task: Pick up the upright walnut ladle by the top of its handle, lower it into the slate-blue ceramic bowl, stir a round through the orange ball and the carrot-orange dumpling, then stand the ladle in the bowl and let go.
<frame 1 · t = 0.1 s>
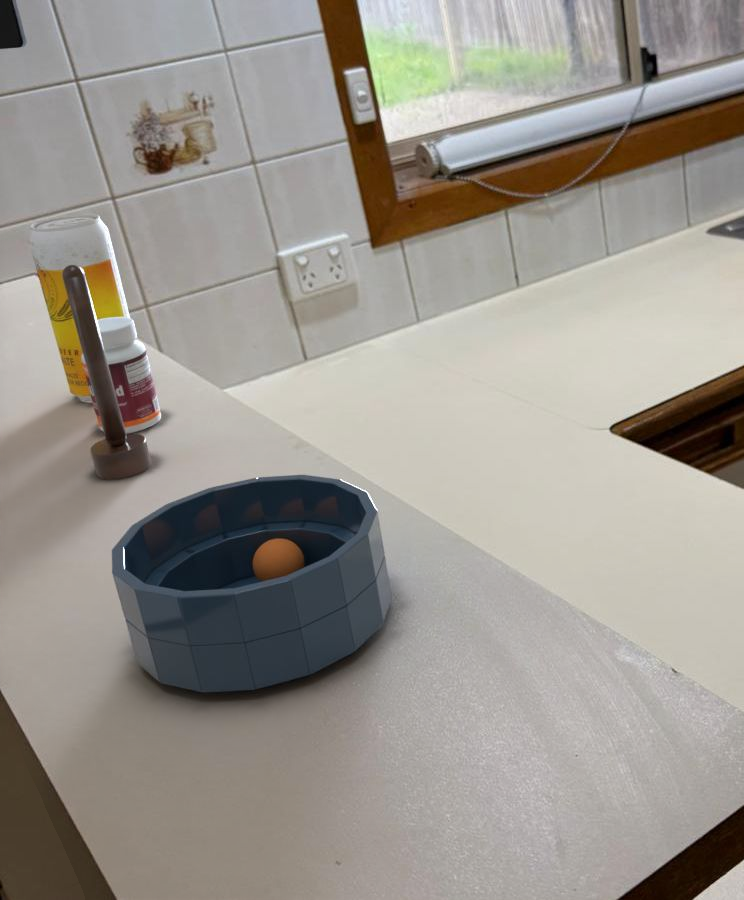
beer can: (110, 394, 99), on the worktop
bowl: (268, 627, 61), on the worktop
orange ball: (278, 563, 64), point 2 cm above the worktop, touching bowl
pill bottle: (132, 426, 92), on the worktop
ladle: (124, 468, 83), on the worktop
dumpling b: (241, 632, 57), point 2 cm above the worktop, touching bowl
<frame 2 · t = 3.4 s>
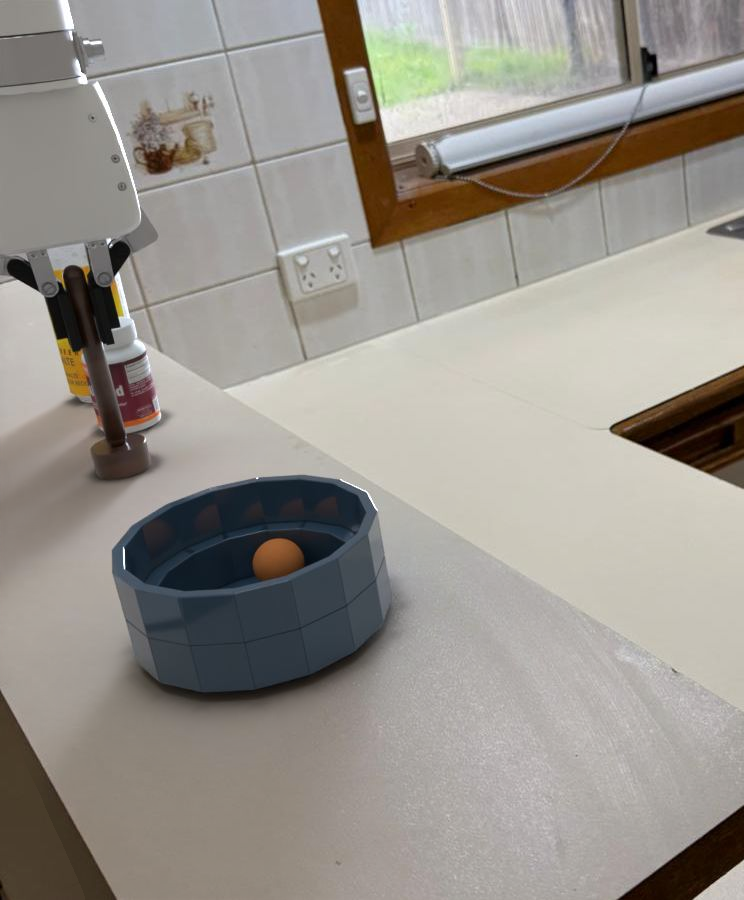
hand: (91, 342, 79), 10 cm above the worktop, tool pointing down, fingers closed on ladle
ladle: (124, 468, 83), on the worktop, touching gripper
everything else where it was.
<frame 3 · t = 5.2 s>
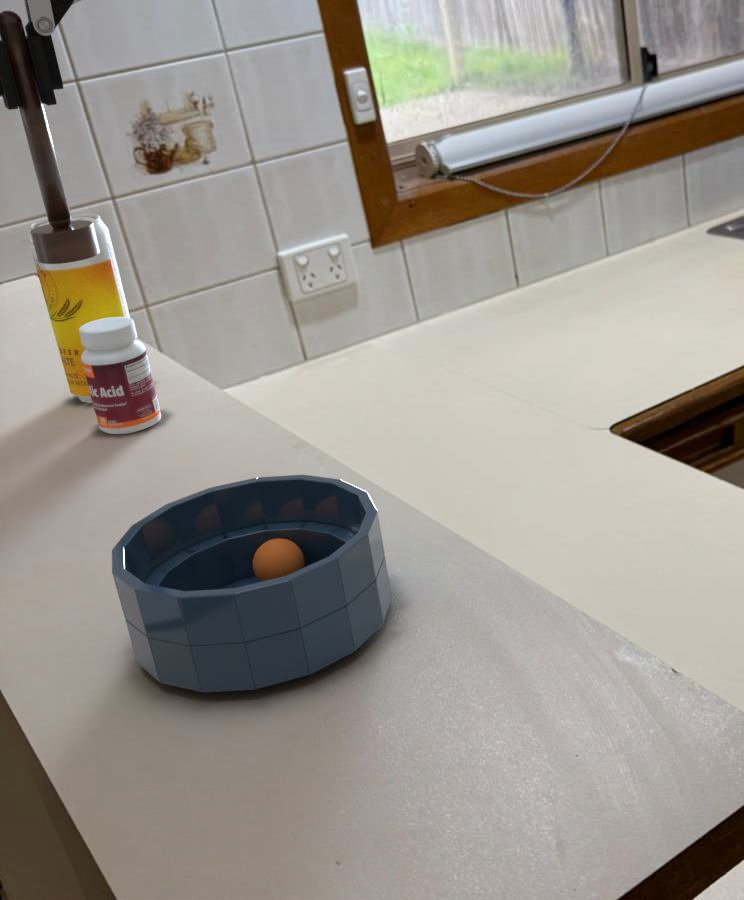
hand: (30, 103, 71), 26 cm above the worktop, tool pointing down, fingers closed on ladle
ladle: (69, 256, 75), point 16 cm above the worktop, touching gripper
everything else where it was.
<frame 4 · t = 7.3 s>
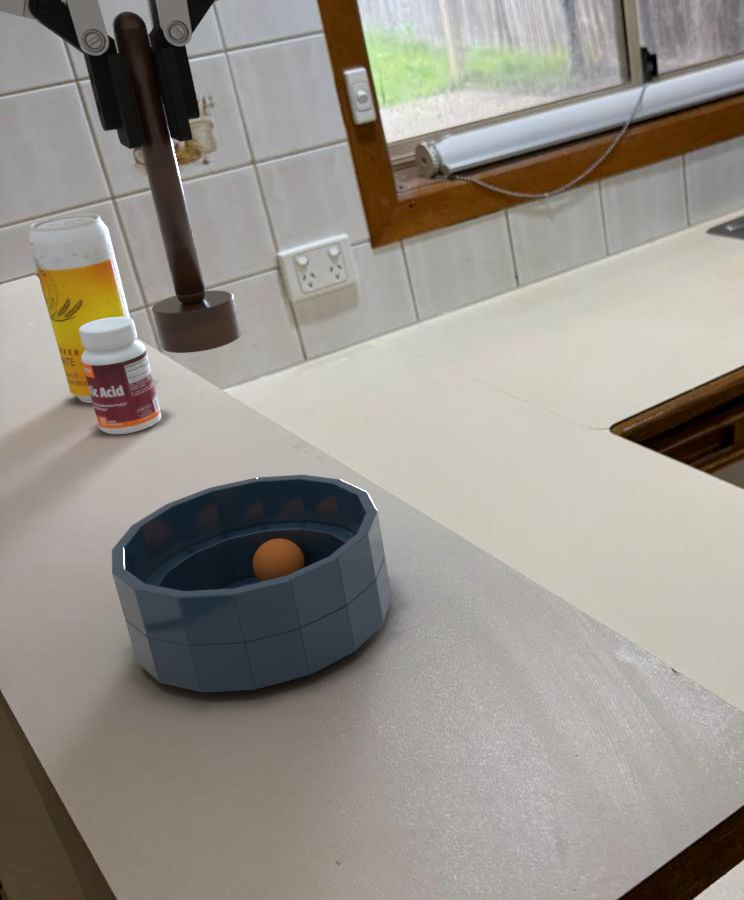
hand: (155, 139, 52), 26 cm above the worktop, tool pointing down, fingers closed on ladle
ladle: (201, 340, 56), point 16 cm above the worktop, touching gripper
everything else where it was.
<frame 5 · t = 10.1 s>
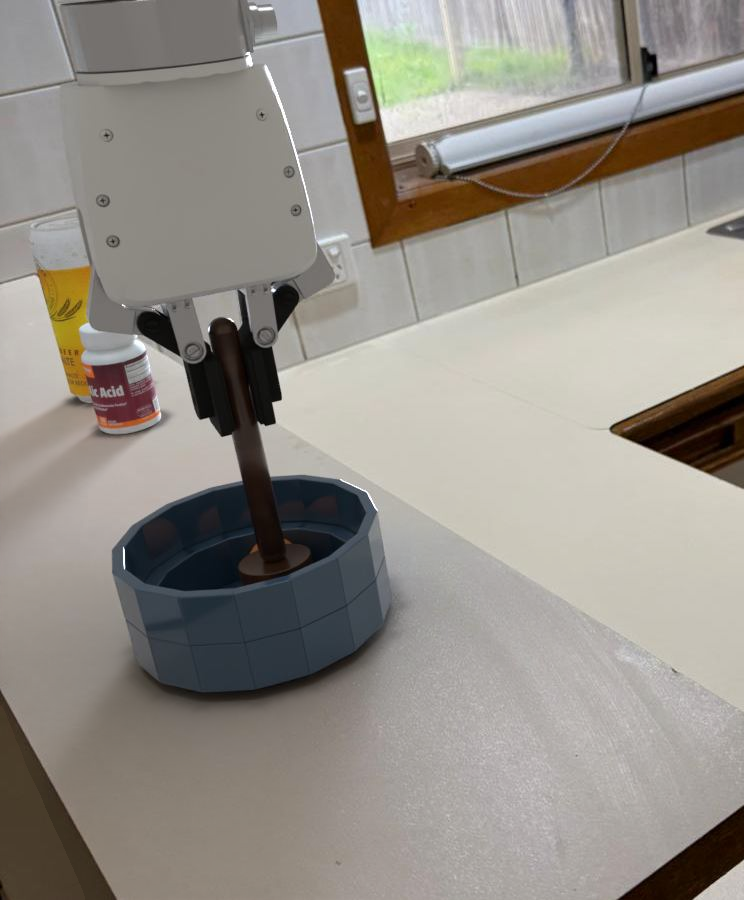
hand: (242, 420, 58), 11 cm above the worktop, tool pointing down, fingers closed on ladle
orange ball: (274, 561, 64), point 2 cm above the worktop, tilted 8°, touching bowl, ladle
ladle: (282, 592, 61), point 2 cm above the worktop, touching orange ball, gripper
everything else where it was.
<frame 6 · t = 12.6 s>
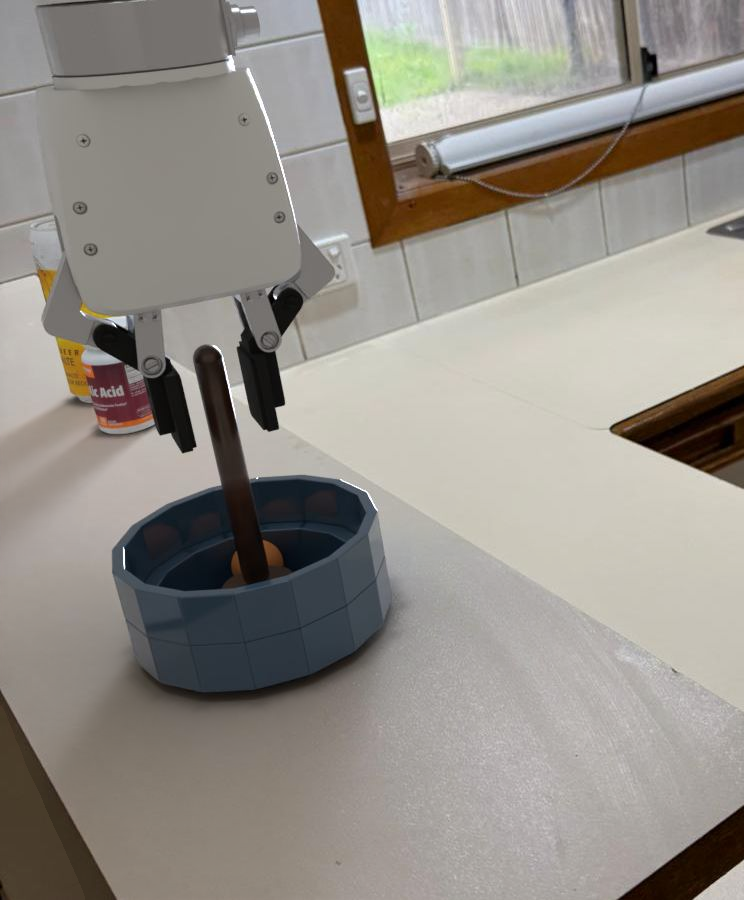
hand: (224, 429, 57), 12 cm above the worktop, tool pointing down, fingers open, 3 cm apart
orange ball: (257, 564, 64), point 2 cm above the worktop, tilted 8°, touching bowl
ladle: (265, 614, 61), point 1 cm above the worktop, touching bowl
dumpling b: (238, 630, 58), point 2 cm above the worktop, tilted 15°, touching bowl
everything else where it was.
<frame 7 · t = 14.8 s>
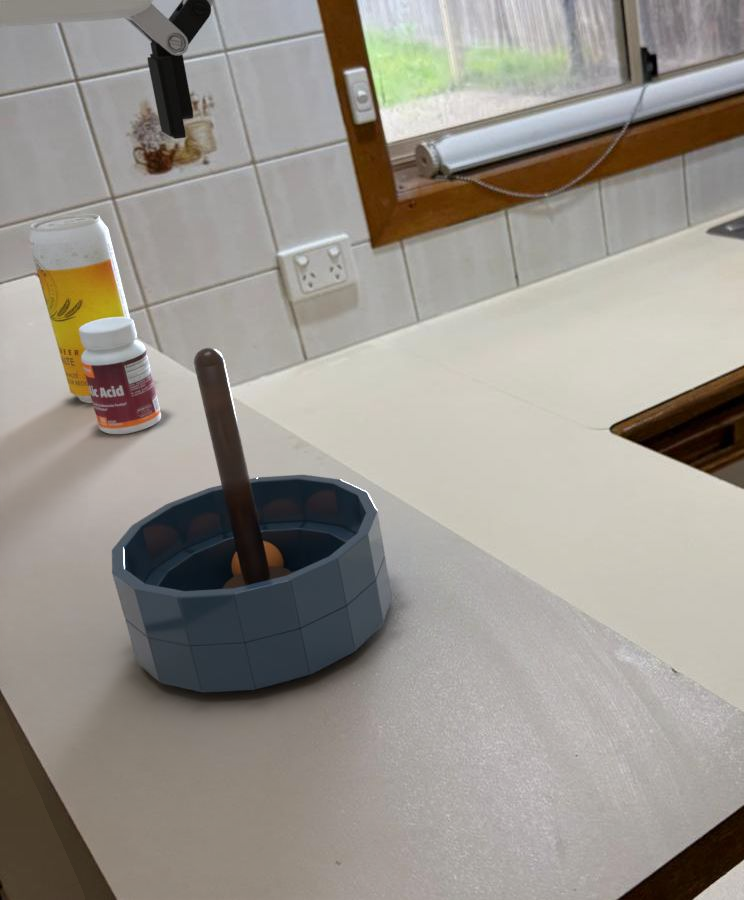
hand: (75, 146, 58), 25 cm above the worktop, tool pointing down, fingers open, 9 cm apart
dumpling b: (234, 627, 58), point 2 cm above the worktop, tilted 31°, touching bowl
everything else where it was.
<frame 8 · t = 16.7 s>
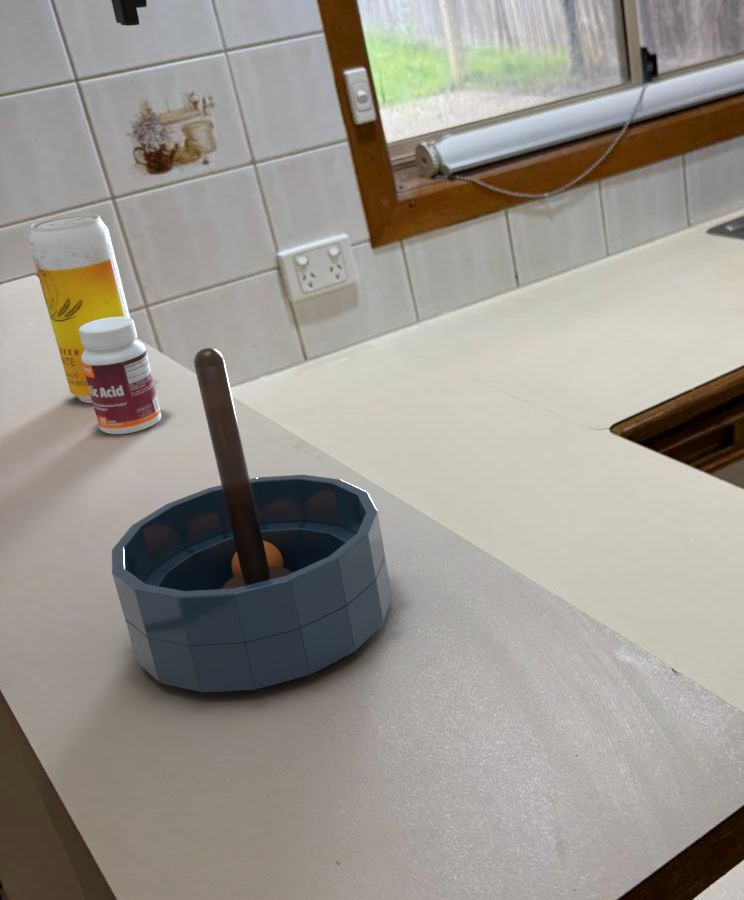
hand: (29, 33, 58), 30 cm above the worktop, tool pointing down, fingers open, 9 cm apart
dumpling b: (232, 630, 58), point 2 cm above the worktop, tilted 25°, touching bowl
everything else where it was.
at the end: ladle inside the target area in the bowl (0.3 cm from its centre), point 0.6 cm above the bowl's base; ladle tilted 0°; orange ball moved 1.2 cm from its start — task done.
